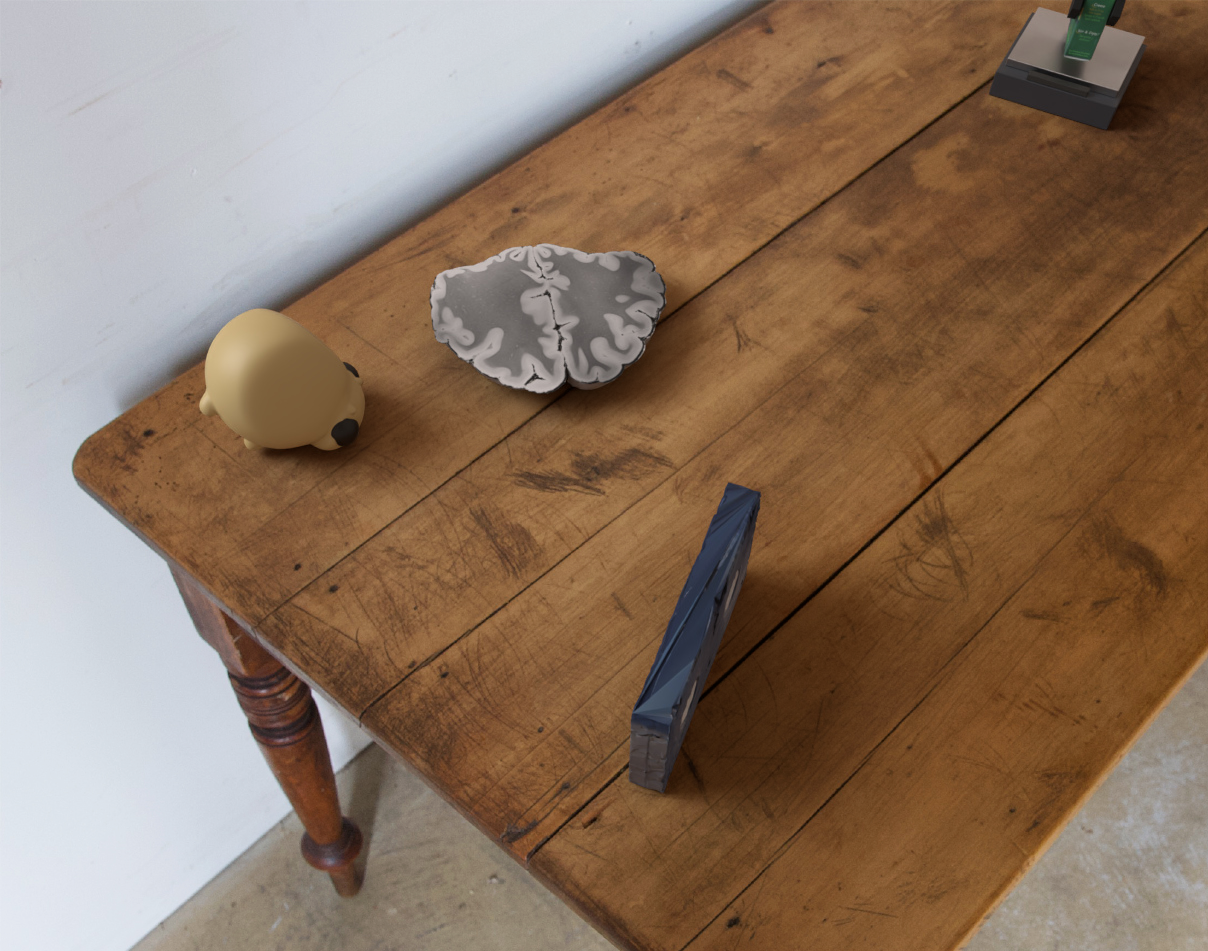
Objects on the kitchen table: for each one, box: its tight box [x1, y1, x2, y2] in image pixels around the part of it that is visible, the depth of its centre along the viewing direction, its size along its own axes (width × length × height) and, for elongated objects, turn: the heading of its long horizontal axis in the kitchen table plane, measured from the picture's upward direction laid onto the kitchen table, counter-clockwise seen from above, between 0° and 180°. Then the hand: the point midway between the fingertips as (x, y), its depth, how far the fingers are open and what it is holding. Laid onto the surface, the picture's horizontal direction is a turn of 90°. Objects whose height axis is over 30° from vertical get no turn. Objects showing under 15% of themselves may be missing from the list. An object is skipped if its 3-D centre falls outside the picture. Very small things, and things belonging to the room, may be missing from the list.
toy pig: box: [199, 307, 366, 452], centre depth 84 cm, size 10×12×11 cm
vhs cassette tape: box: [628, 482, 762, 794], centre depth 72 cm, size 18×3×10 cm, turn 157°
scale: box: [988, 6, 1148, 131], centre depth 112 cm, size 12×12×3 cm
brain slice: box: [428, 242, 667, 394], centre depth 92 cm, size 20×17×3 cm
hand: (1093, 17), depth 104 cm, fingers closed on coffee box, 3 cm apart
